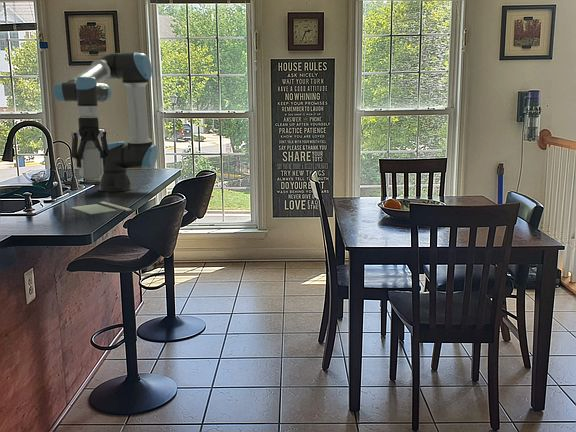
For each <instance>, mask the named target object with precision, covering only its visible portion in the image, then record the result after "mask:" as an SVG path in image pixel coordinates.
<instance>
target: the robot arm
mask: <svg viewBox="0 0 576 432" xmlns="http://www.w3.org/2000/svg"><path fill="white" fill-rule="evenodd" d="M152 76H153V67H152V63H151V60H150V59H149V56H148V55H147V54H145V53H142V52H141V53H140V52H113V53H109V54H106V55H103V56H101V57H99V58H97V59H96V60H93V62H91V64H90V66H89V67H87V68H86V69H84V70H83V71H82V72H80V73H78V74H76V76H74V77H73V78H71V79H69V80H67V81H65V82H55V83H54V85H53V88H52V93H53V97H54V99H55V100H56V101H58V102H64V103H65V102H76V103H77V116H78V119H77V120H78V131H75V132H71V137H72V138H71V140H72V141H71V151H70V157H71V158H72V159H75V160H76V168H78V173H79V174H78V175H79V176H80V177H83V176H84V164H83V159H81V158H82V154H83V151H84V148H86V145H87V144H88V142H92V143H93V145H94V148H98V150H99V151H100V159H101V176H100V181H99V185H98V186H99V187H98V189H99V192H108V193H109V192H110V193H111V192H112V193H113V192H114V193H115V192H126V191H129V190H132V184H131V181H130V178H129V175H128V171H127V169H129V170H130V169H132V170H133V169H135V170H136V169H139V170H151V169H153V168H154V166H156V163H157V159H158V148H157V147H158V146H157V145H156V144H153V139H152V138H150V137H149V135H150V134H149V125H148V123H149V122H148V110H147V96H146V95H147V94H146V93H147V92H146V86H147V84H148V83H149V80H150V79H151V78H152ZM109 79H111V80H112V79H114V80H115V79H116V80H117V79H119V80H122V84H123V85H124V86H125V89H126V90H125V91H126V99H127V101H126V102H127V112H128V126H129V137H130V138H129V139H127V142H126V141H115V142H108V140H107V134H108V133H107V131H102V130H101V131H100V129H99V126H100V125H99V118H98V116H99V107H98V103H99V102H102V103H104V102H106V101H109V100H110V99H111V97H112V88H111V87H110V85H108V84H107V83H104V81H107V80H109ZM79 136H80V140H79ZM98 136H99V137H100V140H99V137H98ZM79 142H80V143H79ZM100 142H101V143H100ZM78 145H79V146H78Z"/></svg>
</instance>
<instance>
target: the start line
mask: <svg viewBox="0 0 576 432" xmlns="http://www.w3.org/2000/svg"><path fill="white" fill-rule="evenodd" d="M99 204H102V205H103V206H108V207H110V208H111V207H112V208H114V209H115V208H116V209H118V210H122V211H125V212H130V211H132V210H133V209H131V208H128V207H125V206H121V205H118V204H115V203H114V204H113V203H110V202H108V201H107V202H106V201H99Z"/></svg>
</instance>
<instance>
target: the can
mask: <svg viewBox="0 0 576 432" xmlns="http://www.w3.org/2000/svg"><path fill="white" fill-rule="evenodd" d="M81 159H83V164H84V176H82V177H83V178H84V179H87V180H89V179H91V180H92V179H101V177H102V174H101V159H100V151H99V150H98V148H96V147H95V146H93V147H85V148H84V151H83V154H82V158H81Z"/></svg>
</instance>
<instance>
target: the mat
mask: <svg viewBox="0 0 576 432" xmlns="http://www.w3.org/2000/svg"><path fill="white" fill-rule="evenodd" d="M70 209H73V210H75V211H78V212H82V213H85V214H88V215H96V214H97V215H98V214H104V213H112V212H117V211H118V210H117V209H115V208H111V207H109V206H108V207H107V206H106V205H100V204H97V203H95V204H93V203H92V204H87V205H79V206H78V205H77V206H71V207H70Z"/></svg>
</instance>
